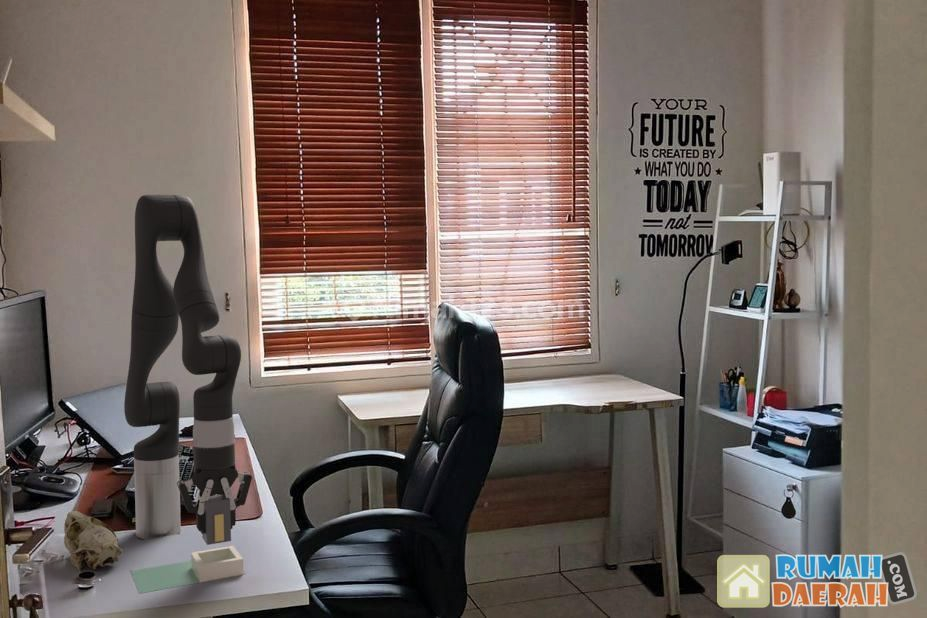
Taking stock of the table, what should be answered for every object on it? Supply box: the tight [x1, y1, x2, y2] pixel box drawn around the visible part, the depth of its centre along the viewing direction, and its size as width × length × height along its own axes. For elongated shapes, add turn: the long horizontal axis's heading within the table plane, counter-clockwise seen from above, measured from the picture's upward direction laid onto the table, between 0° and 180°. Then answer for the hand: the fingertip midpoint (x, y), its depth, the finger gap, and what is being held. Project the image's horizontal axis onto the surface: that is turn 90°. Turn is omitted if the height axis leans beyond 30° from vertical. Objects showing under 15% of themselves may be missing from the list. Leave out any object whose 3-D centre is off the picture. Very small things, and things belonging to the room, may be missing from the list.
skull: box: [63, 510, 124, 572], centre depth 166 cm, size 10×16×10 cm, turn 50°
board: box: [130, 560, 247, 595], centre depth 160 cm, size 12×19×1 cm, turn 118°
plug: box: [201, 494, 232, 545], centre depth 160 cm, size 5×4×8 cm
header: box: [190, 545, 244, 583], centre depth 161 cm, size 8×8×3 cm
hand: (216, 529), depth 160 cm, fingers closed on plug, 4 cm apart
